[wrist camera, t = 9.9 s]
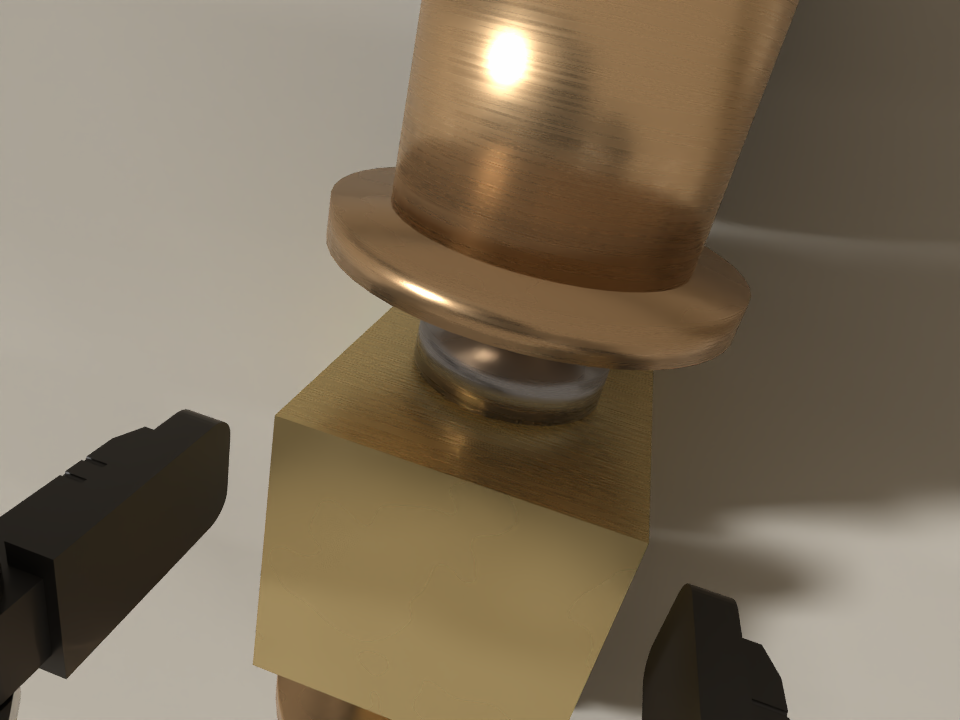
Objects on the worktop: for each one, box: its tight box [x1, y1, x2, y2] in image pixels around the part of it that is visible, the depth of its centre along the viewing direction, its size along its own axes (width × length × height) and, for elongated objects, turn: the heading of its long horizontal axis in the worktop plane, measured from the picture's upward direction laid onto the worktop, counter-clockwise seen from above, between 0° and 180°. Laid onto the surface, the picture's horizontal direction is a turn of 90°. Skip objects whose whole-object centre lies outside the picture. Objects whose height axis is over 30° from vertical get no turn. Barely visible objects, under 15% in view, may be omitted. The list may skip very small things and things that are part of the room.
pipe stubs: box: [276, 0, 799, 720], centre depth 12 cm, size 6×20×7 cm, turn 167°
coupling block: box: [253, 306, 653, 720], centre depth 12 cm, size 7×5×7 cm
